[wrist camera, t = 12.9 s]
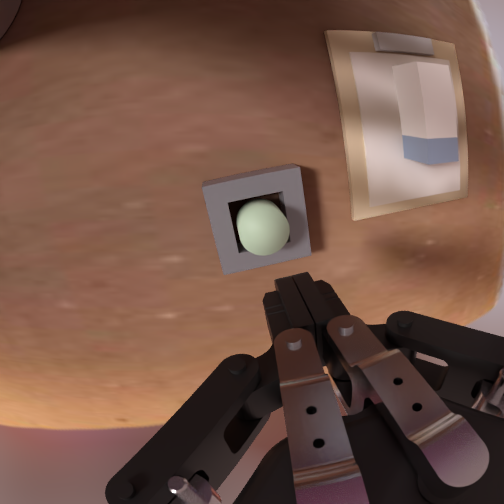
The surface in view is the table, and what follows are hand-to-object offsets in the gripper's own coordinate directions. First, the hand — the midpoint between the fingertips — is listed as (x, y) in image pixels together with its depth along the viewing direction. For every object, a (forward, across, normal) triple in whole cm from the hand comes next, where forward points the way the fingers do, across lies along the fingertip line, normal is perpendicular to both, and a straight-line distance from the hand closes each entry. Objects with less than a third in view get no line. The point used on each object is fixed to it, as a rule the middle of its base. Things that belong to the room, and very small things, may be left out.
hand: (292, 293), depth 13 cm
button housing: (+12, 0, 0) cm, 12 cm away
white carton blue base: (+11, -15, -7) cm, 20 cm away
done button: (+10, 0, 0) cm, 10 cm away
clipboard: (+12, -15, -6) cm, 20 cm away
